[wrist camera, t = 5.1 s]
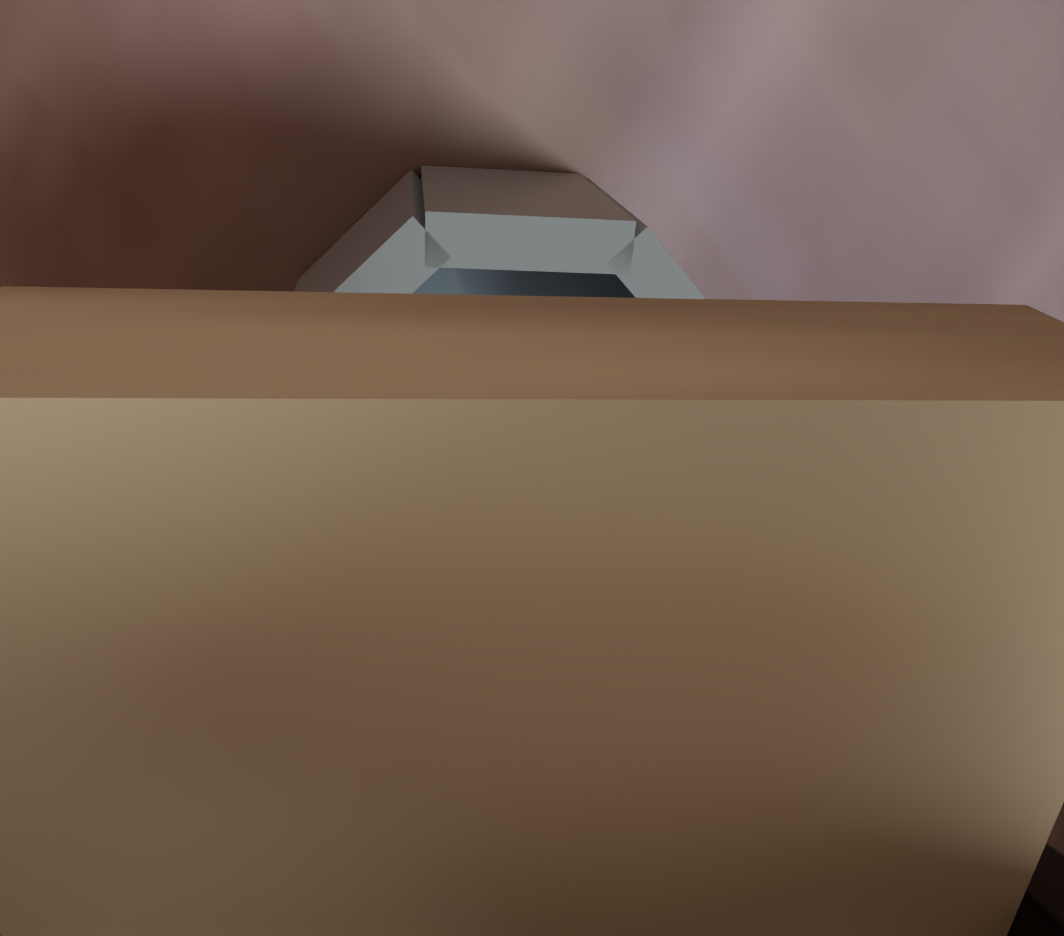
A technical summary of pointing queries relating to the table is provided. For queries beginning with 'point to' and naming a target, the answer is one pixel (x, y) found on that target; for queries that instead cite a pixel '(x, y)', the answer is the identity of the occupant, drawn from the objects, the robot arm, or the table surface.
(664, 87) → the table surface
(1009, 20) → the table surface
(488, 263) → the bowl
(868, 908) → the cover board
